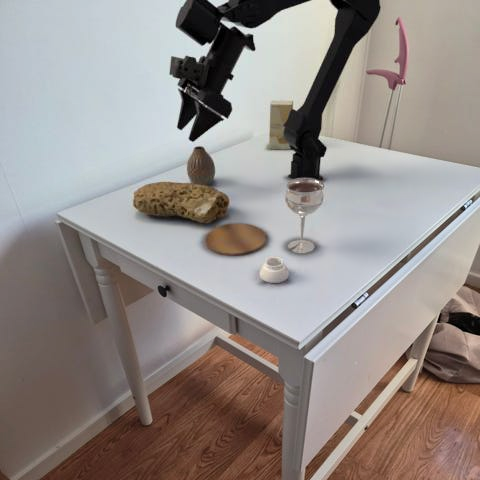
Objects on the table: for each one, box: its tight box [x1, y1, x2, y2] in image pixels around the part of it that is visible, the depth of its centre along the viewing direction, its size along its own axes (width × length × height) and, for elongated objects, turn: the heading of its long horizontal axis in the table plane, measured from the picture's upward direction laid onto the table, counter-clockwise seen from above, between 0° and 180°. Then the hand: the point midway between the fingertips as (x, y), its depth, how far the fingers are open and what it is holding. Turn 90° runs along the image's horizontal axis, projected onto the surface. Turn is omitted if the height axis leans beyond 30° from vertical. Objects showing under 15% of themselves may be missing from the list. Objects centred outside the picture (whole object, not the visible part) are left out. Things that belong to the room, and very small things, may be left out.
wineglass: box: [284, 178, 325, 254], centre depth 77 cm, size 7×7×12 cm
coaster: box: [204, 223, 267, 256], centre depth 83 cm, size 12×12×1 cm
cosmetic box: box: [268, 100, 294, 150], centre depth 121 cm, size 6×4×12 cm
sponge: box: [132, 181, 230, 224], centre depth 91 cm, size 13×8×20 cm
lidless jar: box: [259, 256, 290, 284], centre depth 72 cm, size 5×3×5 cm
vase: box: [186, 145, 216, 186], centre depth 104 cm, size 7×7×9 cm
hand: (184, 134), depth 89 cm, fingers open, 9 cm apart
